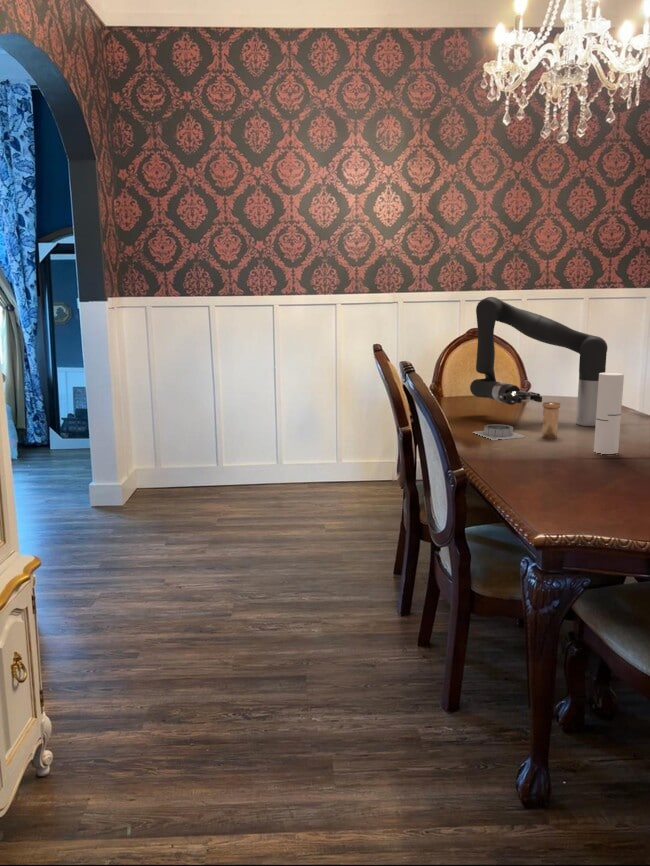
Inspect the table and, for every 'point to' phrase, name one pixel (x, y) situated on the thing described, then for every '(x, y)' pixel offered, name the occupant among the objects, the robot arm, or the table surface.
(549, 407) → the copper pipe
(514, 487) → the table surface
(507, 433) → the duct collar
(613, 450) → the cylindrical container
